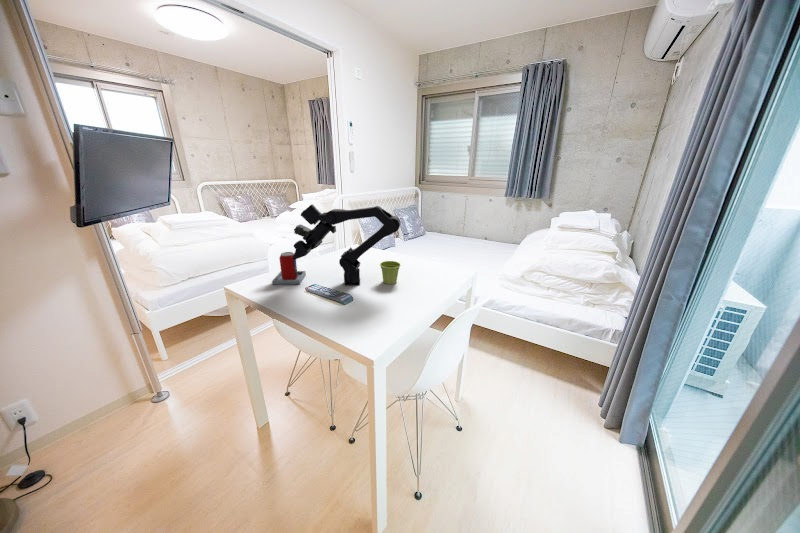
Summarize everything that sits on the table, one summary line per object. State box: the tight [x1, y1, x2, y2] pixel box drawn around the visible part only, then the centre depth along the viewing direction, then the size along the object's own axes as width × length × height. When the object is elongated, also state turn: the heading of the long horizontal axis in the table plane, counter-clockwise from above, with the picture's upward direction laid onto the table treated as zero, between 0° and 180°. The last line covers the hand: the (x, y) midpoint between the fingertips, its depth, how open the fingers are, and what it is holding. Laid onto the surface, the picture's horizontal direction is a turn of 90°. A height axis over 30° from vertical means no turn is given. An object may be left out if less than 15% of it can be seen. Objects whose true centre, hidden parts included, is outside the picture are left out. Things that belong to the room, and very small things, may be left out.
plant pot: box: [379, 260, 402, 285], centre depth 124 cm, size 9×9×9 cm
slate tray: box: [271, 270, 307, 286], centre depth 125 cm, size 12×12×2 cm
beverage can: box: [279, 251, 298, 280], centre depth 123 cm, size 7×7×12 cm
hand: (297, 256), depth 122 cm, fingers open, 9 cm apart
